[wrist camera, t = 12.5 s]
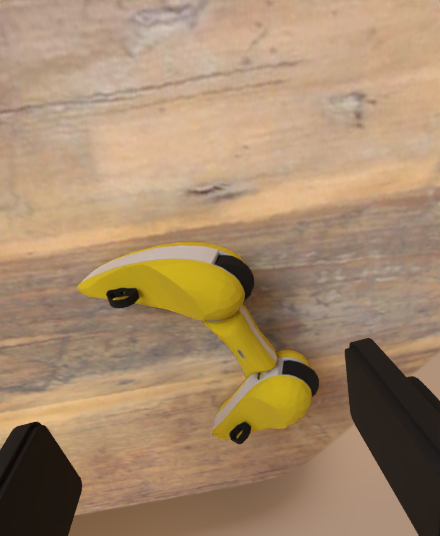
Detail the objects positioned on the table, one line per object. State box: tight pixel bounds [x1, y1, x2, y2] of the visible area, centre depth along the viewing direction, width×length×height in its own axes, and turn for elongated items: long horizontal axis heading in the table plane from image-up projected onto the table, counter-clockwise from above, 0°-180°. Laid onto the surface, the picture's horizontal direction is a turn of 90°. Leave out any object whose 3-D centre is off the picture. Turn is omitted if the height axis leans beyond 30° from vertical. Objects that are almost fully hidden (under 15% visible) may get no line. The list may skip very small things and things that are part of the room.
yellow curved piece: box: [77, 242, 319, 444], centre depth 13 cm, size 10×6×4 cm, turn 32°
